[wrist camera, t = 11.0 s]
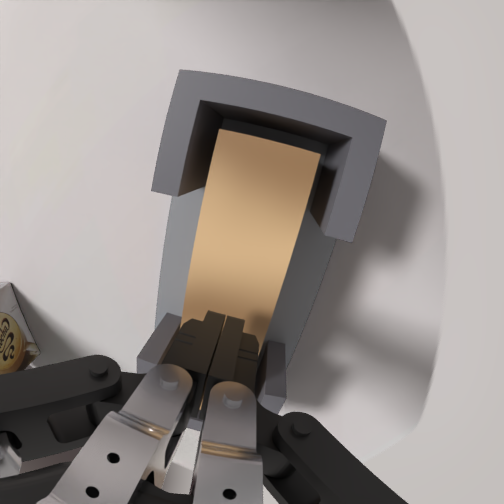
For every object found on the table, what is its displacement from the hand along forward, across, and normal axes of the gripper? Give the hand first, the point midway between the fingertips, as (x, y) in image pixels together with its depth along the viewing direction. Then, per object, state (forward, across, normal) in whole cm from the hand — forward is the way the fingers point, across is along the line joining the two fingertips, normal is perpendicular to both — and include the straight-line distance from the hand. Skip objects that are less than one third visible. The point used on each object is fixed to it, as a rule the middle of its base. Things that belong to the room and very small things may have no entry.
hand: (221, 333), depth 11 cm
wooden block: (+7, 0, 0) cm, 7 cm away
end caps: (+8, 0, 0) cm, 8 cm away
